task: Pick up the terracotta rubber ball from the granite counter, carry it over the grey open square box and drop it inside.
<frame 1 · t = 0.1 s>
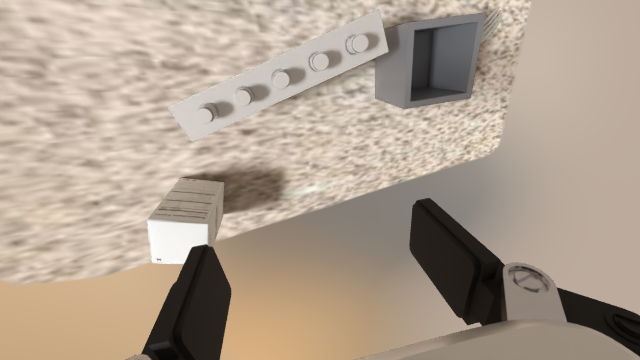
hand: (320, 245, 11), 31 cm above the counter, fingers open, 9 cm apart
supplement box: (203, 196, 42), on the counter
test tube rack: (278, 73, 36), on the counter
fork: (444, 55, 39), on the counter, touching grey open square box
grey open square box: (403, 63, 38), on the counter
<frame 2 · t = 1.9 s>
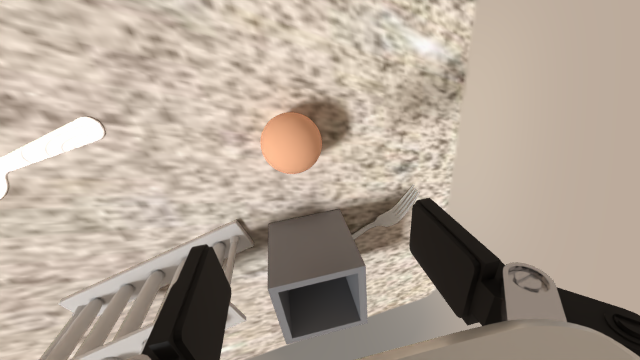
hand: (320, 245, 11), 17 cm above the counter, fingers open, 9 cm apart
ball: (291, 143, 23), point 3 cm above the counter
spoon: (19, 158, 23), on the counter
test tube rack: (161, 268, 31), on the counter
fork: (359, 227, 35), on the counter, touching grey open square box
grey open square box: (309, 243, 34), on the counter
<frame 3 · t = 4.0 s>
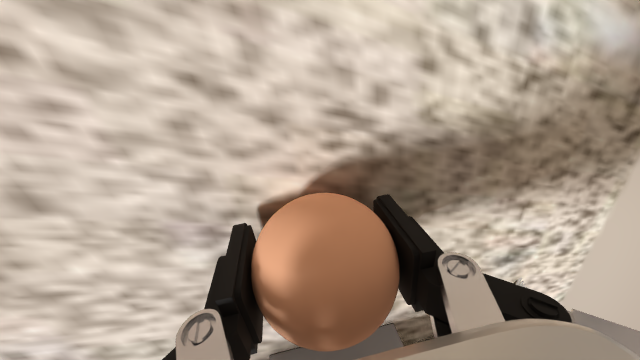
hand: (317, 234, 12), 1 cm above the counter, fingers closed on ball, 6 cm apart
ball: (324, 263, 10), point 3 cm above the counter, touching gripper
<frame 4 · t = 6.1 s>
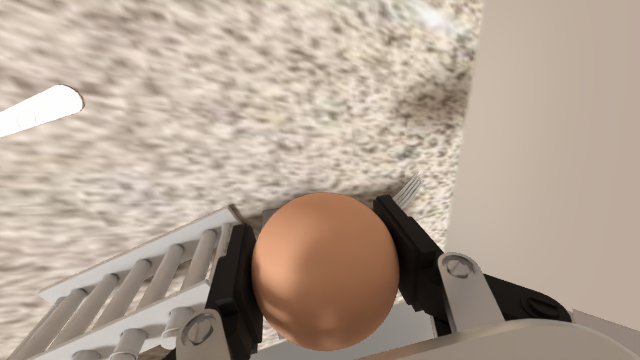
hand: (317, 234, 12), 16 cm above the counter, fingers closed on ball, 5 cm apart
ball: (324, 263, 10), point 18 cm above the counter, touching gripper
test tube rack: (148, 257, 29), on the counter
fork: (359, 217, 33), on the counter
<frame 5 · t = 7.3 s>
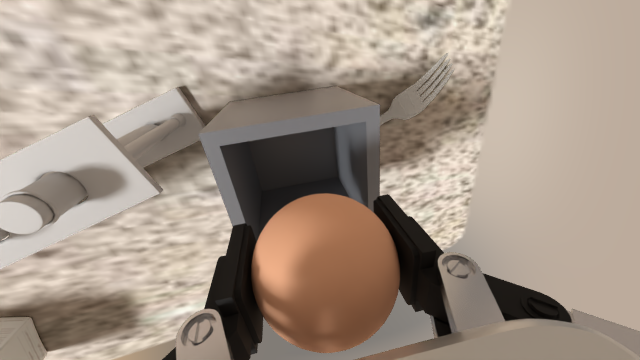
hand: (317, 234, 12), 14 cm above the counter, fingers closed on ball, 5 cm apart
ball: (325, 264, 10), point 15 cm above the counter, touching gripper
supplement box: (5, 334, 28), on the counter
test tube rack: (73, 171, 21), on the counter
fork: (365, 127, 25), on the counter, touching grey open square box
grey open square box: (293, 144, 23), on the counter
when the fingers open (12 cm above the counter, at t = 8.3 s): ball drops 10 cm, resting on grey open square box.
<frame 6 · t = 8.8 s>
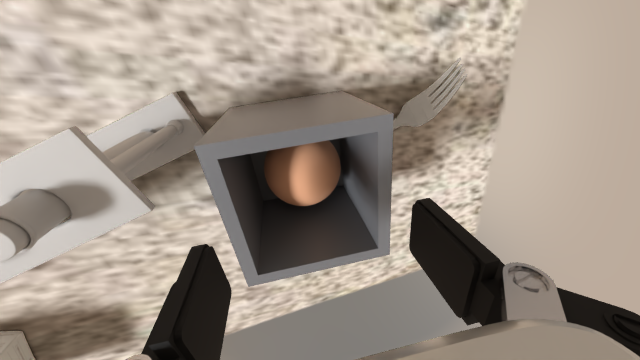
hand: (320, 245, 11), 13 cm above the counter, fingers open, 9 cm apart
ball: (302, 168, 19), point 4 cm above the counter, tilted 6°, touching grey open square box
test tube rack: (66, 180, 20), on the counter
fork: (372, 134, 23), on the counter
grey open square box: (296, 151, 22), on the counter
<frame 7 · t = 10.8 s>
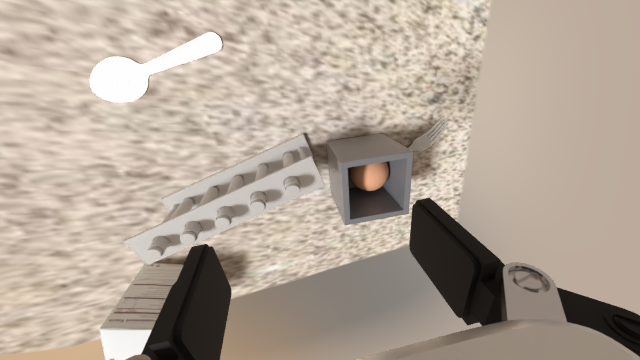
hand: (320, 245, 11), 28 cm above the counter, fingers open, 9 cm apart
ball: (369, 172, 37), point 4 cm above the counter, tilted 21°, touching grey open square box
supplement box: (168, 276, 45), on the counter
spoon: (158, 65, 31), on the counter
test tube rack: (239, 176, 39), on the counter
fork: (396, 154, 42), on the counter, touching grey open square box
grey open square box: (355, 164, 41), on the counter
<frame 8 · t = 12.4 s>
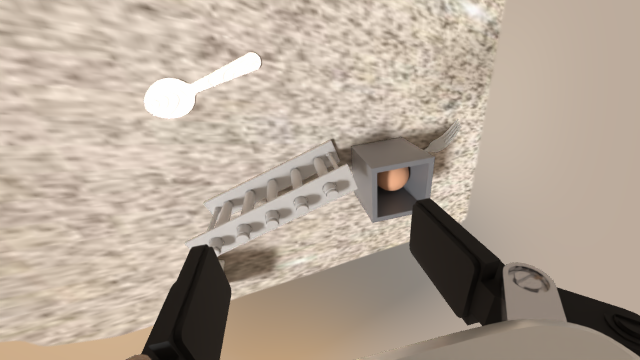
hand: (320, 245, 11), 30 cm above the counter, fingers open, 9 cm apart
ball: (390, 173, 41), point 4 cm above the counter, tilted 20°, touching grey open square box
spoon: (204, 83, 34), on the counter
test tube rack: (272, 180, 43), on the counter
fork: (413, 155, 46), on the counter
grey open square box: (376, 165, 45), on the counter
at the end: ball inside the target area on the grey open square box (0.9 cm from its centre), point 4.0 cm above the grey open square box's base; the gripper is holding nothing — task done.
